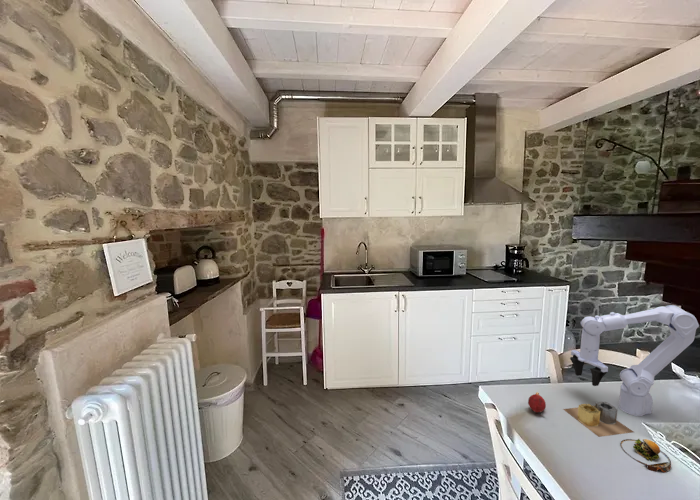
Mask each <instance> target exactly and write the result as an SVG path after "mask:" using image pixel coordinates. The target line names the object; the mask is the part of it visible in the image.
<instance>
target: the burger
mask: <svg viewBox="0 0 700 500" xmlns="http://www.w3.org/2000/svg"><path fill="white" fill-rule="evenodd" d="M626 441H627V442H633V449H634V451H635V453H636V454H638V455H639V456H641V457H643V458H644V459H646V460H647V461H649V462H653V461H654V460H658V459H660V455H659V454H662V455H664V457H665V458H666V459H667V461H666V462H660V463H652V464H647V463H645V462H642V461H640V460H638V459H635V458H634V460H635V461H636V462H638V463H640V464H643V465H646V467H647V470H649V471H651V472H658V471H659V470H661V472H663V473H667V472H669V471H670V470H671V469H672V462H671V461H672V460H671V459H670V457H669V456H668V455H667V454H666V453H665V452H663V451H662V450H661V448H660V446H659V444H657V443H656V442H657V441H658V439H656V440H655V441H653V440H651V439H647V438H643V439H642V441H641V439H640V438H638V439H631V438H626V439H623V440H621V441H620V447H621V448H622V451H624V452H626V450H625V449H624V448H623V445H622V444H623V443H624V442H626ZM626 454H627V455H628V456H630V454H629V453H627V452H626Z"/></svg>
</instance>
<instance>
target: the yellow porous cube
mask: <svg viewBox="0 0 700 500" xmlns="http://www.w3.org/2000/svg"><path fill="white" fill-rule="evenodd" d="M594 406H595V405H591V404H590V403H583V404H582V403H581V404H578V406H577V407H578V419H579V420H580V421H581V422H583V423H584V424H586V425H587V426H597V425H599V420H600V411H599V410H598V409H597V408H595V407H594Z"/></svg>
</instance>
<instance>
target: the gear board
mask: <svg viewBox="0 0 700 500" xmlns="http://www.w3.org/2000/svg"><path fill="white" fill-rule="evenodd" d="M593 406H594V407H595V405H593ZM578 407H579V406H577V407H569V408H563V409H562V410H563V411H565V412H566V413H567V414H568V415H570V416H571V417H572V418H573V419H575V420H576V421H577V422H578V423H580V424H581V425H583V426H584V427H585V428H586V429H588V430H589V431H590V432H592V433H593V434H594V435H595V436H597V438H598V437H599V438H600V437H609V436H616V435H622V434H630V433H634V431H633V430H632V429H631V428H629V427H628V426H626V425H625V424H623V423H622V422H620V421H619V420H618V419H617V420H616V423H613V424H608V423H607V424H605V423H604V422H601V421H600V420H599V425H597V426H587V425H586V424H584V423H583V422H581V421H580V420H579V419H578Z"/></svg>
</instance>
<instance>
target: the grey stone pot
mask: <svg viewBox="0 0 700 500" xmlns="http://www.w3.org/2000/svg"><path fill="white" fill-rule="evenodd" d="M594 406H595V408H597V409H598V410H599V411H600V421H601V422H604V423H605V424H607V423H608V424H613V423H616V420H617V421H618V408H616V406H614V405H612V404H611V403H608V402H607V401H597V402H595V405H594Z"/></svg>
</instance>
